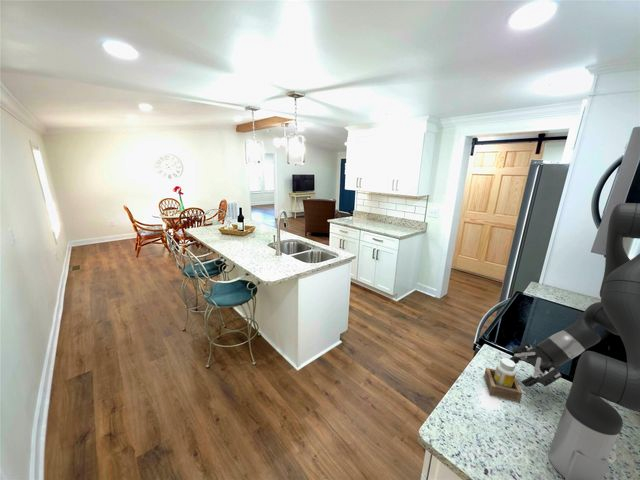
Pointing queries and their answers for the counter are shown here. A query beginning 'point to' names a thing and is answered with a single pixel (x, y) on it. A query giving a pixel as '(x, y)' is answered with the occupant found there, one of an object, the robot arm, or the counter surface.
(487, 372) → the brown square tray
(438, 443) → the counter surface
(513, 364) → the supplement bottle
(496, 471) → the counter surface
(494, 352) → the counter surface
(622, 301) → the robot arm
